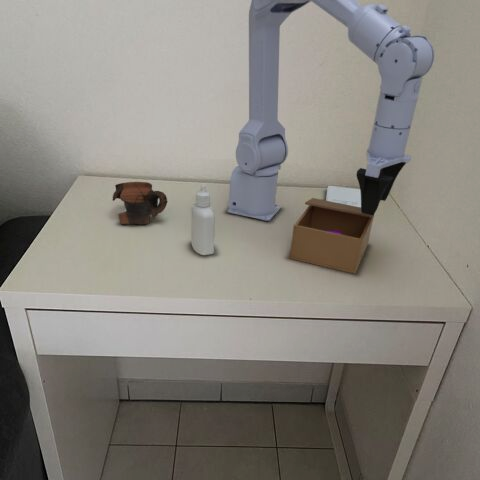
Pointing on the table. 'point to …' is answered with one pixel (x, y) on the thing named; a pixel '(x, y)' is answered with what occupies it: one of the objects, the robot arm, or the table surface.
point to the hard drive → (344, 195)
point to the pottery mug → (139, 202)
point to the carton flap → (336, 206)
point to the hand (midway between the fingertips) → (373, 206)
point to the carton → (330, 238)
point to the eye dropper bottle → (202, 223)
